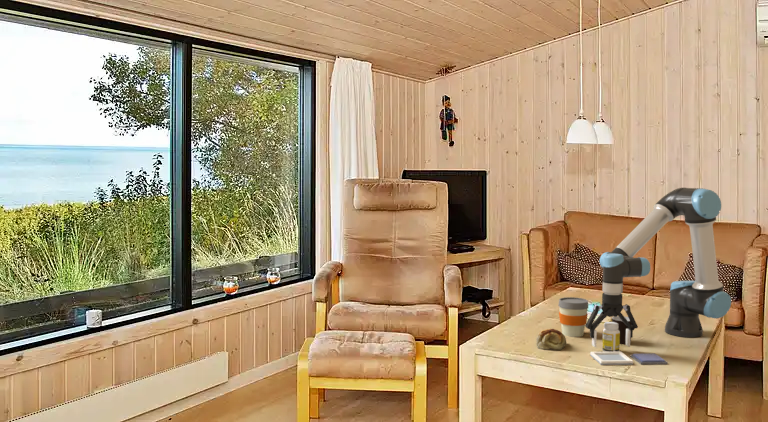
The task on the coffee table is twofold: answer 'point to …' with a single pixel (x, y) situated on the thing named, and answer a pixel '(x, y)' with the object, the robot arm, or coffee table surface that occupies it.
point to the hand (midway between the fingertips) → (610, 345)
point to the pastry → (551, 340)
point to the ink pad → (648, 359)
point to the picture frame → (611, 358)
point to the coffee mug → (621, 328)
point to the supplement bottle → (611, 337)
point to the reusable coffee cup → (573, 315)
